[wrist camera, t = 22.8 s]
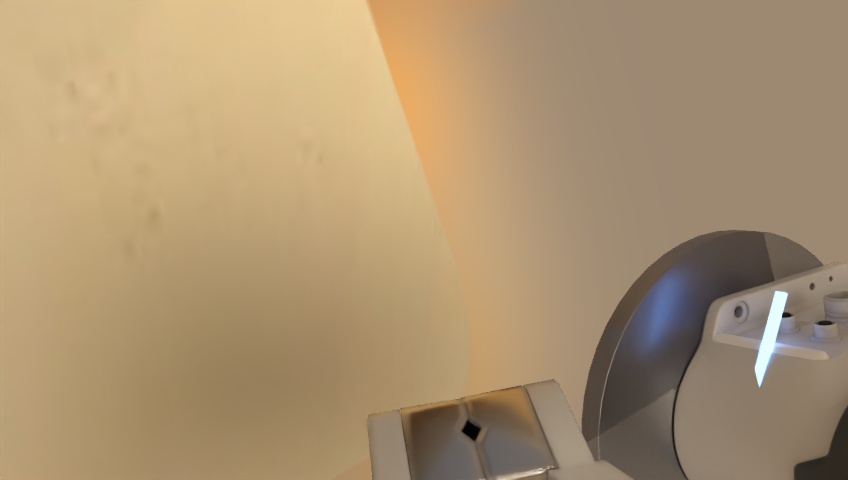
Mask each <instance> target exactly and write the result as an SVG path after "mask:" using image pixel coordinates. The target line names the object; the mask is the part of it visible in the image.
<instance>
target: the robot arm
mask: <svg viewBox="0 0 848 480" xmlns="http://www.w3.org/2000/svg"><path fill="white" fill-rule="evenodd" d="M400 410H401V414H400ZM400 410H399V409H398V410H392V411H386V412H380V413H374V414H368V418H367V428H368V438H369V448H370V458H371V469H372V478H373V480H634V479H633V478H631V477H630V476H628V475H627V474H625V473H624V472H622V471H621V470H619V469H618V468H616V467H615V466H613V465H612V464H610V463H609V462H607V461H606V460H600V461H595V460H594V458H593V456H592V454H591V452H590V449H589V447H588V445H587V443H586V441H585V439H584V437H583V435H582V432H581V430H580V428H579V426H578V424H577V422H576V420H575V418H574V415H573V413H572V411H571V409H570V407H569V405H568V403H567V401H566V398H565V396H564V394H563V392H562V390H561V388H560V386H559V384H558V383H557V382H556V381H555V380H554V379H552V380H547V381H542V382H537V383H532V384H527V385H523V387H522V386H516V387H511V388H506V389H501V390H496V391H491V392H486V393H482V394H477V395H472V396H467V397H462V398H460V399H454V400H448V401H442V402H436V403H430V404H424V405H418V406H412V407H406V408H400ZM401 417H402V419H401ZM402 424H403V425H402ZM674 439H675V446H676V451H677V455H678V459H679V462H680V464H681V467H682V469H683V471H684V473H685V475H686V477H687V478H688V480H848V264H845V263H840V262H834V263H830V264H826V265H823V266H820V267H816V268H813V269H810V270H807V271H803V272H800V273H797V274H793V275H790V276H787V277H784V278H780V279H777V280H774V281H770V282H767V283H764V284H761V285H757V286H754V287H751V288H747V289H744V290H741V291H738V292H734V293H731V294H728V295H724V296H721V297H718V298H716V299H714V300H713V301H712V302H711V303H710V305H709V307H708V309H707V312H706V316H705V320H704V325H703V330H702V335H701V340H700V343H699V346H698V348H697V350H696V352H695V354H694V356H693V357H692V359H691V361H690V363H689V365H688V367H687V369H686V371H685V374H684V376H683V379H682V382H681V384H680V388H679V391H678V395H677V400H676V405H675V413H674Z"/></svg>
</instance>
